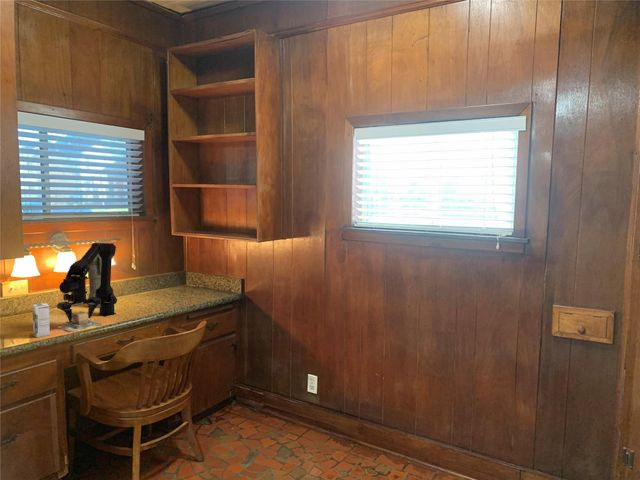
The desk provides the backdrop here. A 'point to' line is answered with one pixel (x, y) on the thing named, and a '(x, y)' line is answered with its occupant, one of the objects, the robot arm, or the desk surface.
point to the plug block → (79, 318)
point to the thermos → (94, 276)
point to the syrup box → (41, 320)
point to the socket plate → (79, 326)
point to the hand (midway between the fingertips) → (80, 320)
